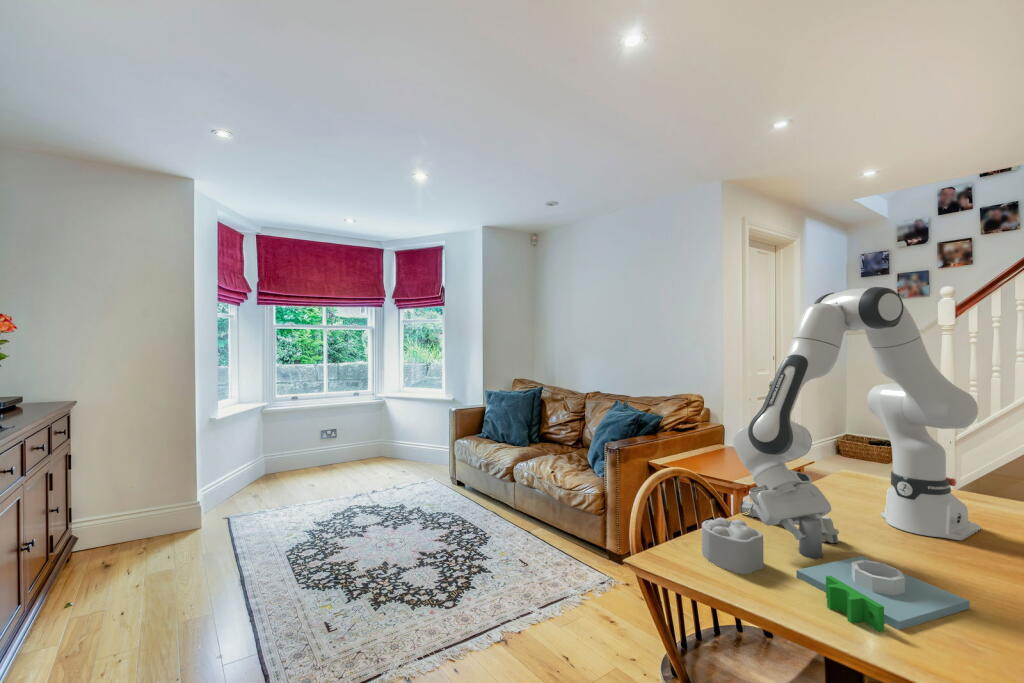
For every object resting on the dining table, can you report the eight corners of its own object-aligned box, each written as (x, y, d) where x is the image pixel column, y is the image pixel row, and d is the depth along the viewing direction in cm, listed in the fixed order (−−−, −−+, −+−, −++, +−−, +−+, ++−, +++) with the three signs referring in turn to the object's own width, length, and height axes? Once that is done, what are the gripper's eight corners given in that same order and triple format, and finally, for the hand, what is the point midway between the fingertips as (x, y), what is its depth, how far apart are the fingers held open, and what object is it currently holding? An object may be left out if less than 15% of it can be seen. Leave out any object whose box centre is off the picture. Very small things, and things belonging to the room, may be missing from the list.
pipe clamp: (814, 600, 93) (814, 577, 93) (831, 598, 93) (830, 575, 93) (866, 634, 82) (865, 607, 82) (884, 632, 82) (884, 605, 82)
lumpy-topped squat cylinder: (743, 577, 101) (742, 537, 102) (691, 555, 112) (691, 518, 112) (769, 565, 107) (768, 527, 107) (717, 544, 118) (717, 510, 118)
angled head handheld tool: (748, 499, 141) (839, 513, 120) (751, 522, 140) (844, 540, 119) (737, 502, 138) (829, 517, 117) (740, 525, 138) (833, 544, 116)
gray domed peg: (808, 549, 115) (808, 516, 115) (826, 557, 111) (826, 523, 111) (794, 551, 114) (794, 518, 114) (812, 560, 109) (812, 525, 109)
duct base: (861, 562, 108) (860, 542, 108) (969, 608, 89) (969, 584, 89) (796, 577, 101) (796, 556, 101) (899, 630, 83) (898, 604, 83)
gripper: (752, 482, 116) (788, 537, 106) (813, 474, 122) (852, 525, 113) (738, 494, 120) (771, 548, 110) (798, 486, 126) (834, 536, 117)
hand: (812, 536), depth 112 cm, fingers open, 5 cm apart
